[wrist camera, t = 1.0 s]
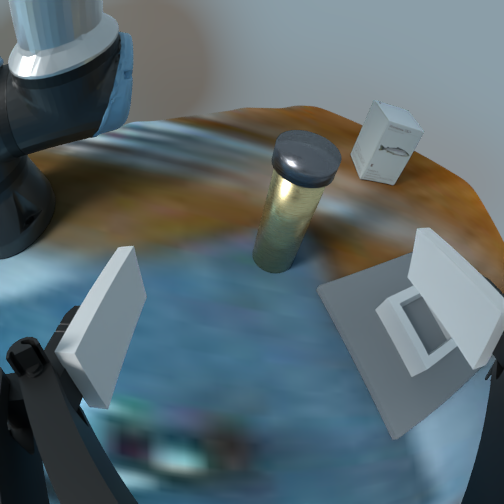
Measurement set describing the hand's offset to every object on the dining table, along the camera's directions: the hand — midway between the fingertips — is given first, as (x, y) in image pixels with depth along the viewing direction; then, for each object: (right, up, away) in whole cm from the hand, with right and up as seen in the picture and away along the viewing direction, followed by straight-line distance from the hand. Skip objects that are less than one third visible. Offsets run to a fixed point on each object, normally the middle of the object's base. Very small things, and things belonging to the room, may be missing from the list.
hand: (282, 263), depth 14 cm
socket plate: (+19, -10, +21) cm, 30 cm away
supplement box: (+20, +15, +39) cm, 47 cm away
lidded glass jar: (+1, 0, +25) cm, 25 cm away
